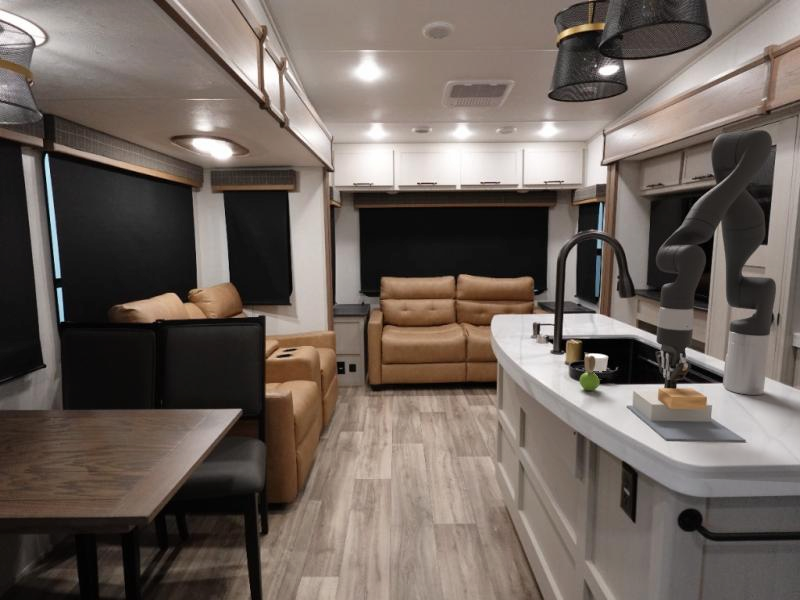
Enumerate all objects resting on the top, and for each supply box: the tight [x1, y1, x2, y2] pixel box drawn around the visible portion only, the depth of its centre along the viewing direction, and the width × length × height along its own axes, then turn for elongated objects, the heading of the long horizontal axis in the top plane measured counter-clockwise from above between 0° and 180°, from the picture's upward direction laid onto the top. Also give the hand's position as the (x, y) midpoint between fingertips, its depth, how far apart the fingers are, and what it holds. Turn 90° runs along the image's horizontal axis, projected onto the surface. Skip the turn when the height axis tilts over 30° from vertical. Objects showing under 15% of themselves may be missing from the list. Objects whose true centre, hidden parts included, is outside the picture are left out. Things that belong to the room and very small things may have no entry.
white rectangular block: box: [632, 390, 713, 422], centre depth 114 cm, size 10×14×4 cm
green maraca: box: [579, 352, 601, 392], centre depth 132 cm, size 5×6×12 cm
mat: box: [626, 405, 747, 443], centre depth 109 cm, size 20×17×1 cm
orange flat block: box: [657, 387, 708, 409], centre depth 109 cm, size 6×8×3 cm
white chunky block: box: [584, 352, 609, 372], centre depth 146 cm, size 7×7×7 cm
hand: (669, 393), depth 114 cm, fingers closed
